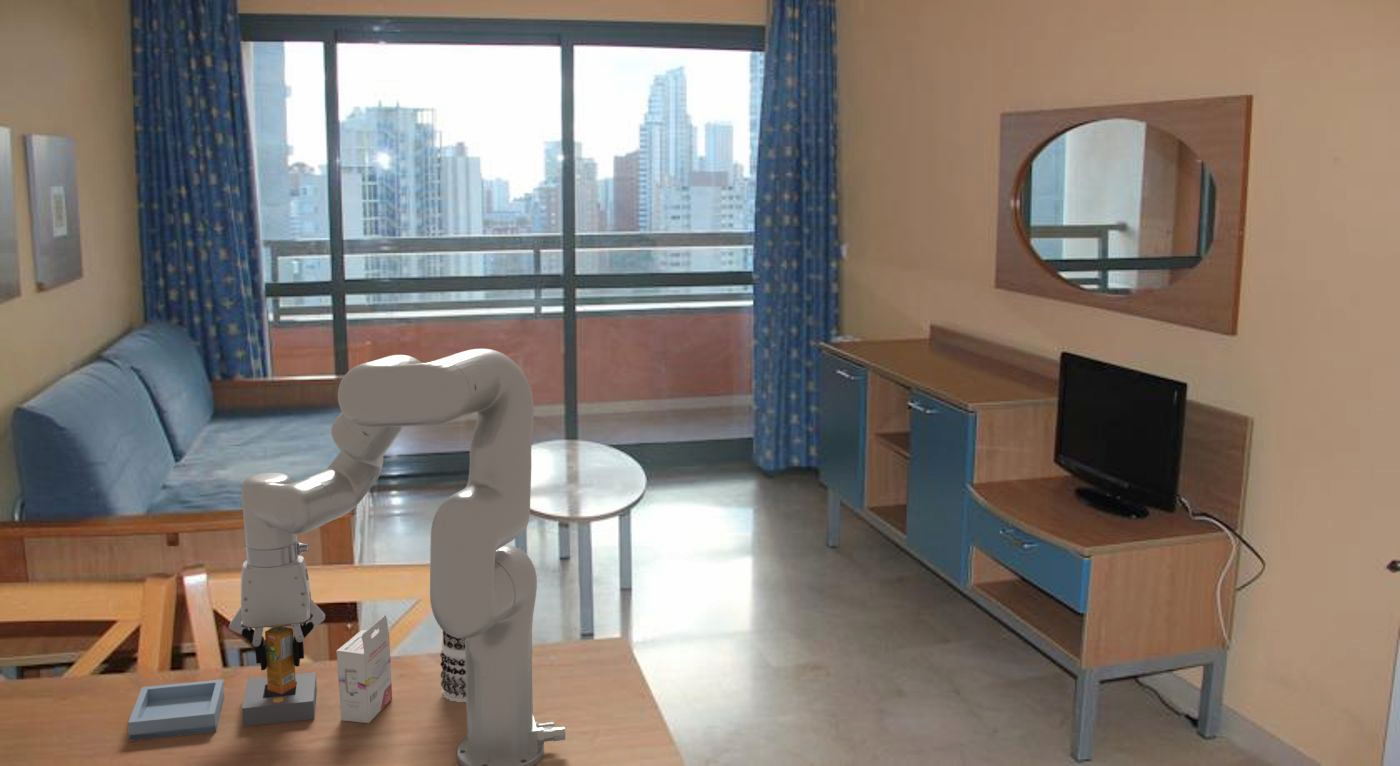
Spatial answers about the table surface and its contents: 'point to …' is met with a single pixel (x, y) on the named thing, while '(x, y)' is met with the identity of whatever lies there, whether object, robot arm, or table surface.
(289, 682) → the supplement box
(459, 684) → the decorative candle
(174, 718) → the holder and tray
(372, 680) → the ink cartridge box
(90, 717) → the table surface
